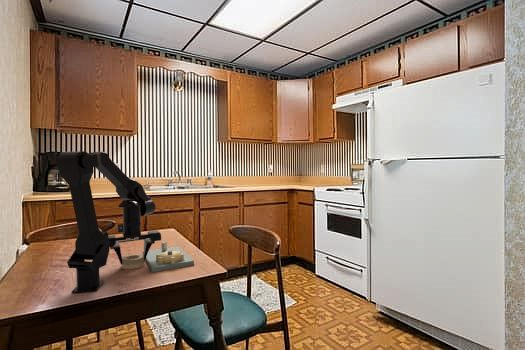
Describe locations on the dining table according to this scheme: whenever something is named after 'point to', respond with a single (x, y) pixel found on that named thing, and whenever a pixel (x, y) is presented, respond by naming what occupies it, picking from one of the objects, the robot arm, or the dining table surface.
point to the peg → (163, 247)
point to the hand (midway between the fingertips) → (133, 262)
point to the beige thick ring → (132, 261)
